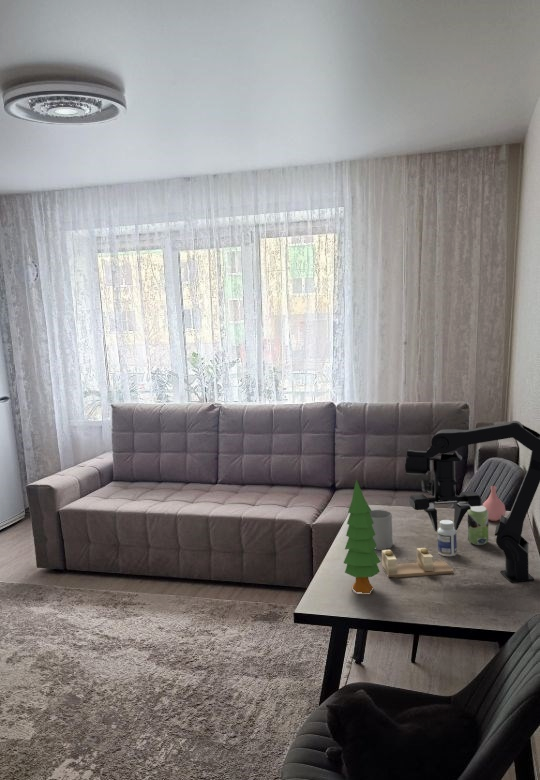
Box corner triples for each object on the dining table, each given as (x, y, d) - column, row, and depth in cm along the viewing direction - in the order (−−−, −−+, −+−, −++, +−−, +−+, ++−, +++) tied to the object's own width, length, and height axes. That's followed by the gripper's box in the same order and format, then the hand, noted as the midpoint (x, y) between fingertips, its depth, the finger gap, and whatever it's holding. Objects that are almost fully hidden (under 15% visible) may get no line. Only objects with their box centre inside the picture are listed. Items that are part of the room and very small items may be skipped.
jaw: (433, 570, 156) (432, 554, 156) (424, 571, 156) (423, 554, 156) (425, 561, 163) (424, 545, 162) (417, 561, 163) (416, 545, 162)
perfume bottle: (507, 524, 193) (507, 489, 192) (483, 523, 195) (483, 489, 193) (503, 516, 200) (503, 483, 199) (480, 516, 202) (480, 483, 201)
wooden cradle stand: (453, 573, 156) (452, 552, 156) (388, 577, 155) (387, 557, 155) (444, 563, 163) (443, 543, 163) (382, 567, 162) (381, 547, 162)
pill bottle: (448, 548, 174) (448, 518, 173) (460, 554, 169) (459, 523, 168) (434, 552, 172) (433, 520, 171) (445, 558, 167) (444, 526, 166)
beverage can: (485, 539, 180) (484, 502, 179) (492, 547, 173) (491, 509, 172) (465, 539, 181) (464, 502, 180) (470, 548, 174) (470, 509, 172)
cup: (390, 550, 175) (389, 518, 174) (364, 548, 178) (362, 517, 177) (394, 540, 183) (393, 510, 182) (368, 539, 186) (367, 509, 185)
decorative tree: (345, 597, 145) (340, 482, 143) (342, 581, 155) (338, 473, 152) (383, 596, 145) (379, 481, 142) (378, 580, 154) (374, 472, 151)
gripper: (466, 467, 166) (467, 519, 167) (403, 471, 165) (404, 523, 166) (482, 476, 155) (483, 531, 156) (414, 480, 154) (416, 536, 155)
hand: (445, 530), depth 159 cm, fingers open, 5 cm apart
